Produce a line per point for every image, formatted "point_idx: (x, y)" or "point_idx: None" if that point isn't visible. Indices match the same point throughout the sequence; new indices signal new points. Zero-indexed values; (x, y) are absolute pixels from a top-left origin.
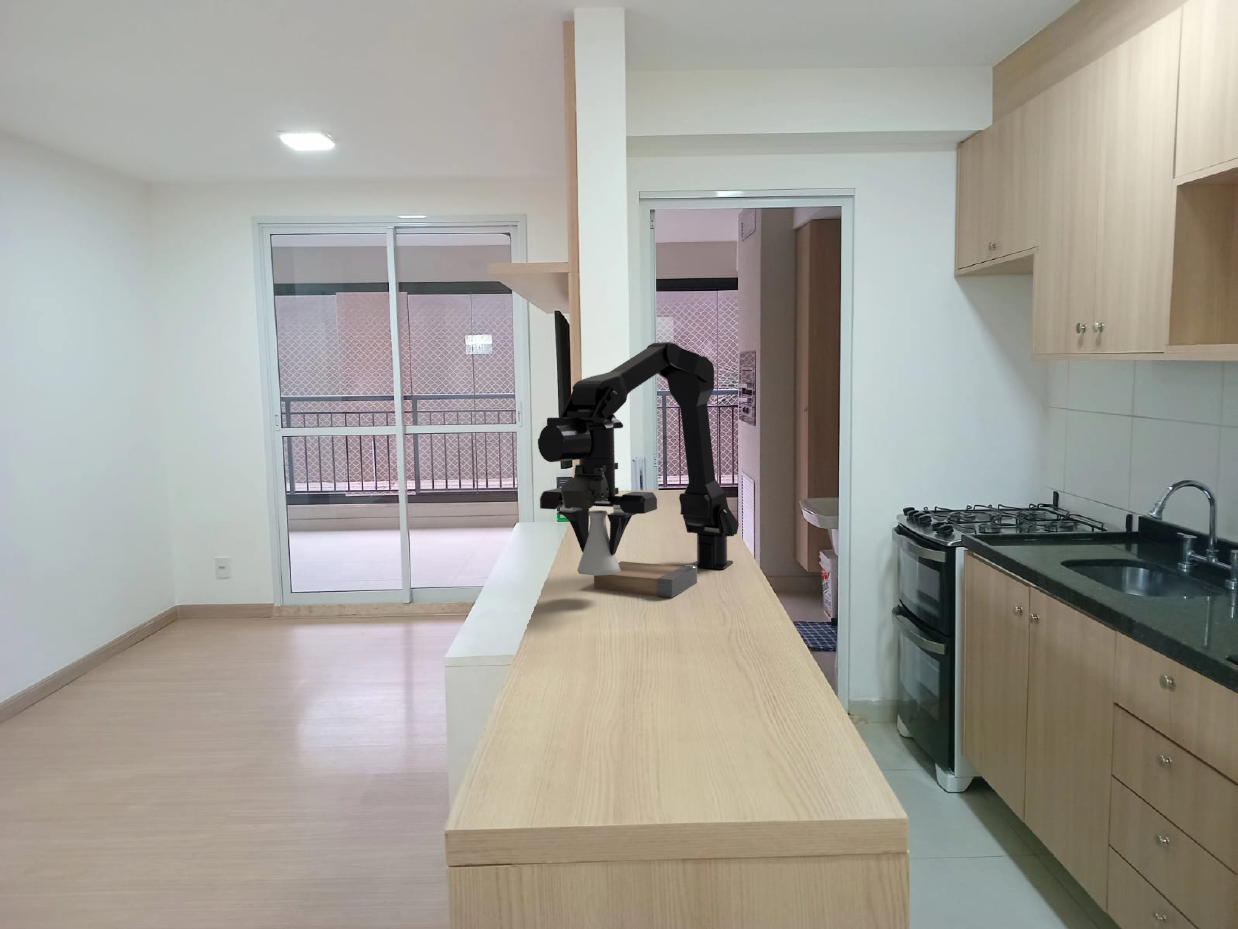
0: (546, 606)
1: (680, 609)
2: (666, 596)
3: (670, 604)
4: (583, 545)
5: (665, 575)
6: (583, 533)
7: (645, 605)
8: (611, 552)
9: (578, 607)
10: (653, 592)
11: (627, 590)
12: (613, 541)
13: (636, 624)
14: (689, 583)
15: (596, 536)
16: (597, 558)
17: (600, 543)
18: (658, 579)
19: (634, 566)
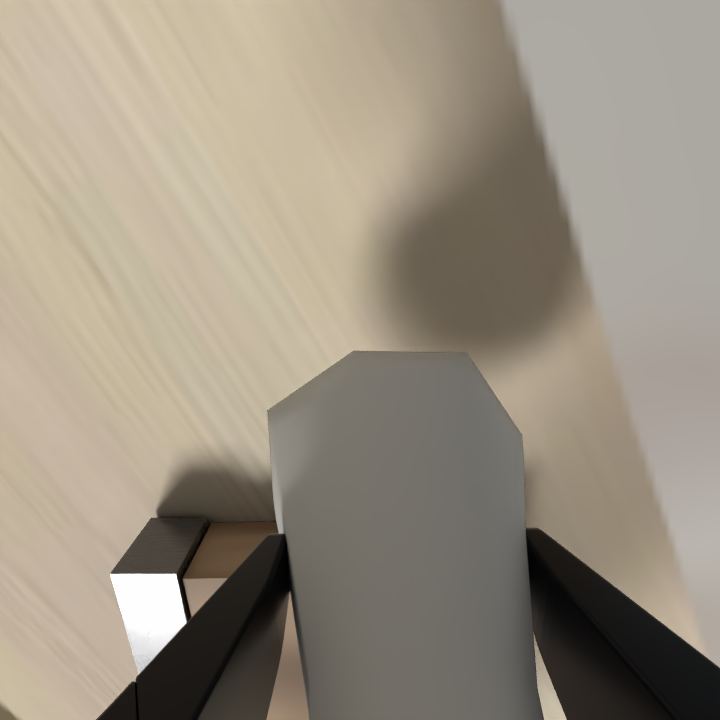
0: (563, 219)
1: (38, 404)
2: (172, 520)
3: (114, 452)
4: (544, 567)
5: (179, 623)
6: (617, 712)
7: (185, 405)
8: (270, 540)
9: (415, 266)
10: (227, 533)
11: None
12: (203, 617)
13: (26, 106)
14: None
15: (386, 636)
16: (348, 437)
17: (337, 566)
18: (175, 570)
19: None
